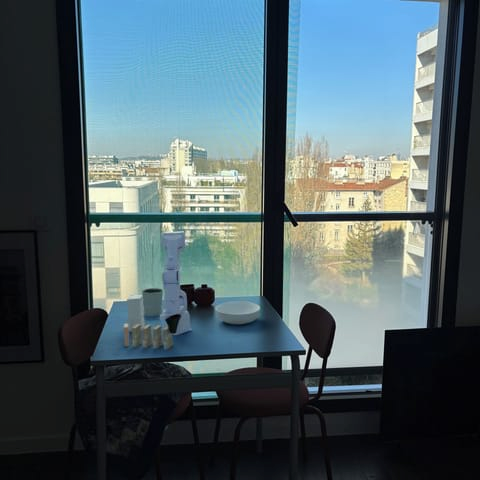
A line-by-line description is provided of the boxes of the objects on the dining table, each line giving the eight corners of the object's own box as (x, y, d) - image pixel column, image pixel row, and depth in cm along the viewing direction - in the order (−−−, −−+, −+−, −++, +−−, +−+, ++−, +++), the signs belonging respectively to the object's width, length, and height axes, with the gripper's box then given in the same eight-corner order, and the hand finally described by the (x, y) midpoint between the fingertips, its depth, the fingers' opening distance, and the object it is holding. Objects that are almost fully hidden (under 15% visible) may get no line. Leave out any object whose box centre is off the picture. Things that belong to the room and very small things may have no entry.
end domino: (129, 341, 192) (128, 323, 191) (128, 346, 187) (127, 327, 186) (125, 342, 191) (124, 323, 190) (124, 346, 187) (123, 327, 186)
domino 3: (162, 344, 188) (161, 325, 187) (157, 348, 184) (156, 329, 183) (158, 344, 189) (157, 325, 188) (153, 348, 184) (152, 329, 183)
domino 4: (172, 344, 187) (171, 325, 186) (168, 349, 183) (166, 329, 182) (168, 344, 188) (167, 325, 187) (164, 349, 183) (162, 329, 182)
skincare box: (141, 331, 204) (140, 298, 202) (128, 332, 204) (126, 299, 202) (144, 325, 213) (143, 294, 211) (131, 326, 212) (130, 294, 210)
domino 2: (151, 343, 189) (151, 324, 188) (146, 347, 185) (146, 328, 184) (148, 343, 190) (147, 324, 189) (143, 347, 185) (142, 328, 184)
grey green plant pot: (139, 314, 231) (138, 290, 229) (156, 309, 238) (155, 287, 236) (150, 318, 224) (149, 294, 222) (167, 313, 231) (166, 290, 229)
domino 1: (141, 342, 190) (140, 324, 189) (136, 347, 186) (135, 328, 185) (138, 342, 191) (137, 323, 190) (132, 346, 186) (131, 327, 185)
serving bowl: (219, 330, 204) (219, 315, 203) (212, 316, 225) (212, 303, 224) (265, 326, 208) (265, 311, 207) (254, 313, 229) (254, 300, 228)
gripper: (173, 294, 190) (174, 326, 192) (152, 303, 177) (153, 337, 179) (188, 296, 187) (189, 328, 189) (167, 305, 174) (169, 339, 176)
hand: (173, 333), depth 184 cm, fingers closed
